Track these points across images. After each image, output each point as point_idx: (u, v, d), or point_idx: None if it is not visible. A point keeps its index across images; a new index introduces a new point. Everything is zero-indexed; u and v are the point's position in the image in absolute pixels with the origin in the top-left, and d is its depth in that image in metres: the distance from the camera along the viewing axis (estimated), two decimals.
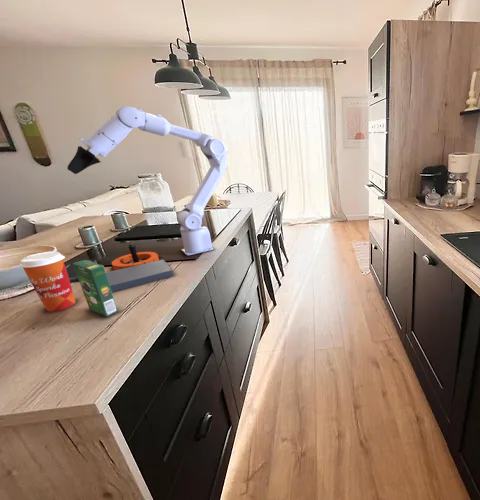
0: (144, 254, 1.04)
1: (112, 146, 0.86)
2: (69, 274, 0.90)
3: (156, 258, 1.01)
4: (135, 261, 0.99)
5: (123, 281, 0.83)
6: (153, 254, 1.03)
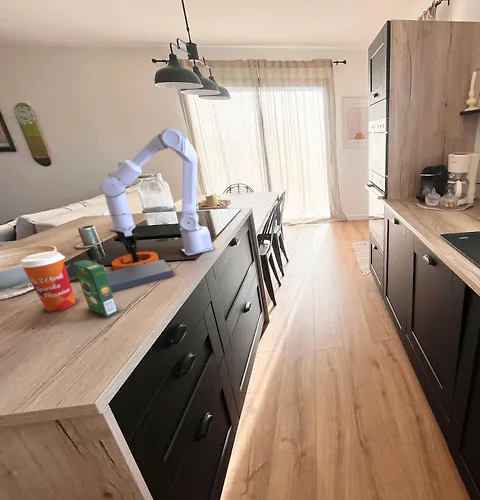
0: (144, 254, 1.04)
1: (130, 216, 0.99)
2: (69, 274, 0.90)
3: (156, 258, 1.01)
4: (135, 261, 0.99)
5: (123, 281, 0.83)
6: (153, 254, 1.03)
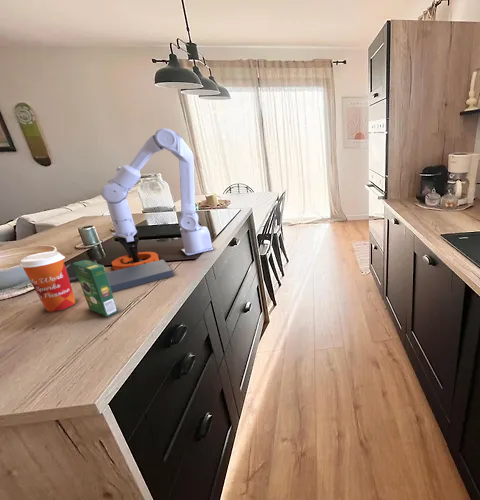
0: (144, 254, 1.04)
1: (132, 222, 0.99)
2: (69, 274, 0.90)
3: (156, 258, 1.01)
4: (135, 261, 0.99)
5: (123, 281, 0.83)
6: (153, 254, 1.03)
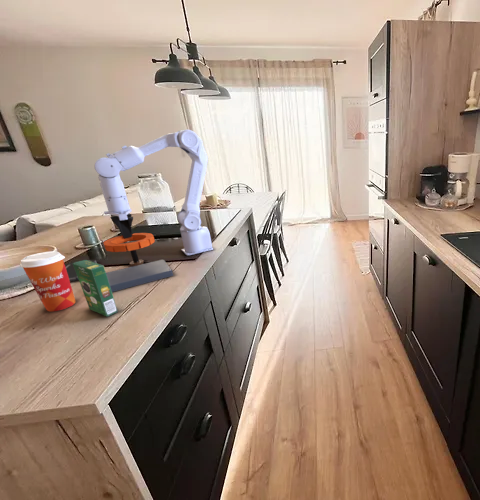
0: (139, 235, 0.97)
1: (125, 200, 0.93)
2: (69, 274, 0.90)
3: (151, 239, 0.94)
4: (135, 261, 0.99)
5: (123, 281, 0.83)
6: (148, 235, 0.97)
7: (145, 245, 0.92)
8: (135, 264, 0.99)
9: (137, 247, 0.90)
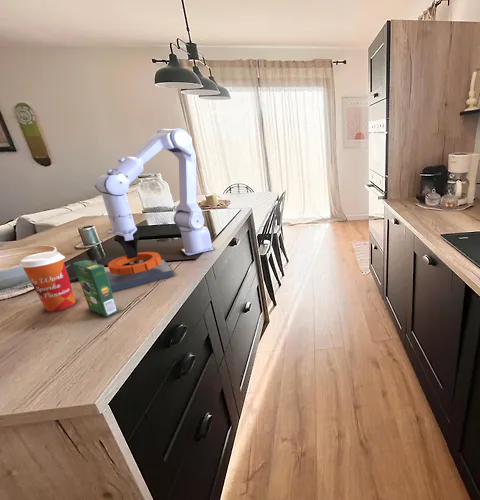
0: (145, 254, 0.93)
1: (131, 218, 0.88)
2: (69, 274, 0.90)
3: (158, 259, 0.90)
4: (135, 261, 0.99)
5: (123, 281, 0.83)
6: (155, 254, 0.92)
7: (152, 266, 0.87)
8: None
9: (143, 269, 0.85)
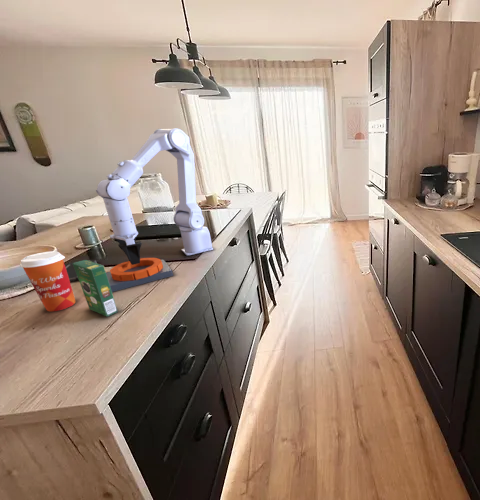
0: (146, 260, 0.93)
1: (132, 222, 0.89)
2: (69, 274, 0.90)
3: (160, 265, 0.91)
4: None
5: (123, 281, 0.83)
6: (156, 260, 0.93)
7: (153, 272, 0.88)
8: None
9: (145, 275, 0.86)
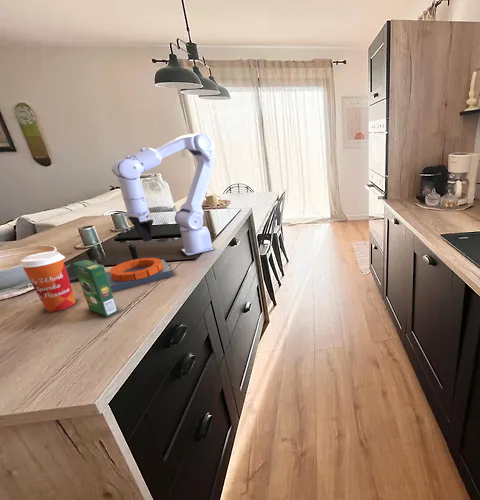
0: (146, 260, 0.93)
1: (144, 201, 0.93)
2: (69, 274, 0.90)
3: (160, 265, 0.91)
4: None
5: (123, 281, 0.83)
6: (156, 260, 0.93)
7: (153, 272, 0.88)
8: None
9: (145, 275, 0.86)
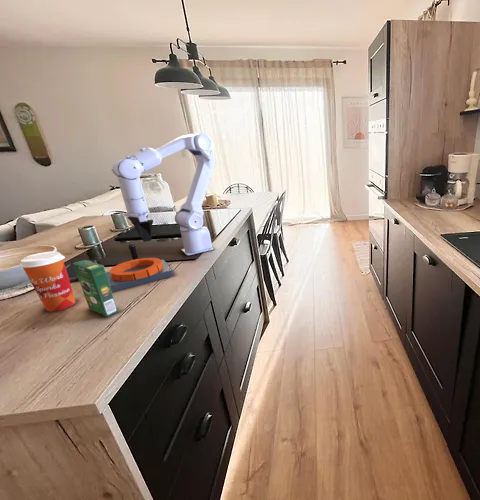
0: (146, 260, 0.93)
1: (144, 201, 0.93)
2: (69, 274, 0.90)
3: (160, 265, 0.91)
4: None
5: (123, 281, 0.83)
6: (156, 260, 0.93)
7: (153, 272, 0.88)
8: None
9: (145, 275, 0.86)
